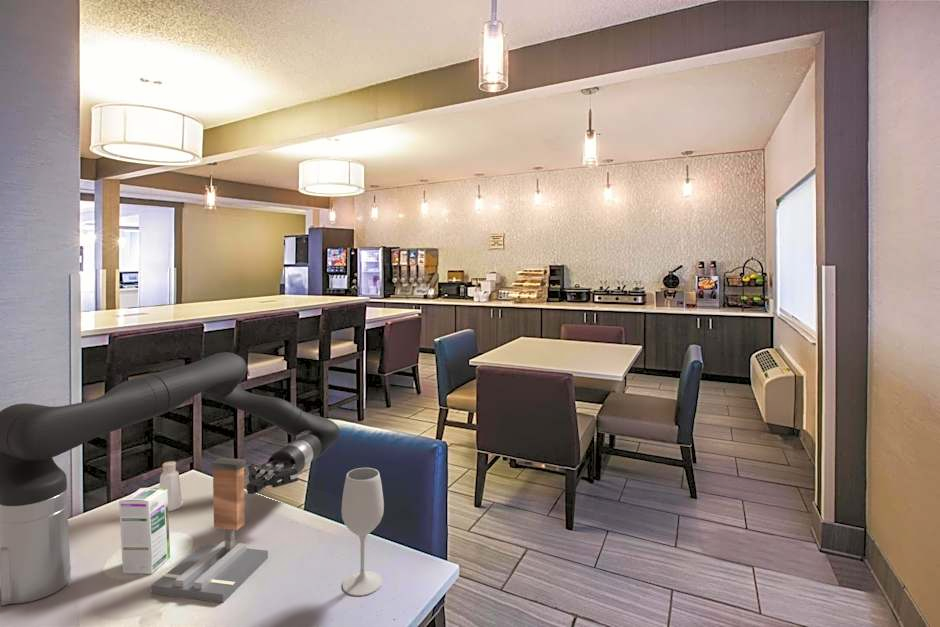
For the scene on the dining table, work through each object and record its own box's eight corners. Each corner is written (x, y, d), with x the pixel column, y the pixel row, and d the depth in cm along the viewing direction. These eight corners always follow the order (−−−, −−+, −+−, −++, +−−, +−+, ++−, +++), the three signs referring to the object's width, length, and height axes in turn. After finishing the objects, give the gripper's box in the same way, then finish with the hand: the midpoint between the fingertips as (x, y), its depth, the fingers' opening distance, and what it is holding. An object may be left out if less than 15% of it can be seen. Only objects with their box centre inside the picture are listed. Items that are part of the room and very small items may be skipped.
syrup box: (151, 575, 93) (149, 500, 92) (120, 574, 93) (118, 499, 92) (170, 557, 99) (169, 487, 98) (141, 556, 99) (139, 486, 98)
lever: (221, 545, 100) (220, 457, 99) (246, 548, 99) (245, 459, 98) (212, 553, 98) (211, 462, 96) (237, 556, 97) (236, 464, 95)
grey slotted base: (204, 550, 102) (204, 537, 101) (267, 557, 100) (267, 544, 99) (151, 593, 88) (150, 578, 88) (223, 602, 86) (222, 587, 86)
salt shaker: (180, 499, 124) (180, 457, 123) (185, 507, 120) (184, 463, 119) (155, 505, 121) (154, 461, 120) (158, 514, 116) (157, 468, 116)
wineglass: (389, 575, 95) (390, 468, 93) (371, 600, 87) (372, 485, 86) (354, 568, 97) (354, 464, 95) (333, 592, 89) (333, 479, 88)
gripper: (266, 443, 123) (221, 470, 106) (316, 446, 121) (279, 475, 104) (267, 472, 123) (222, 504, 106) (316, 476, 121) (279, 509, 104)
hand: (250, 489), depth 105 cm, fingers closed
